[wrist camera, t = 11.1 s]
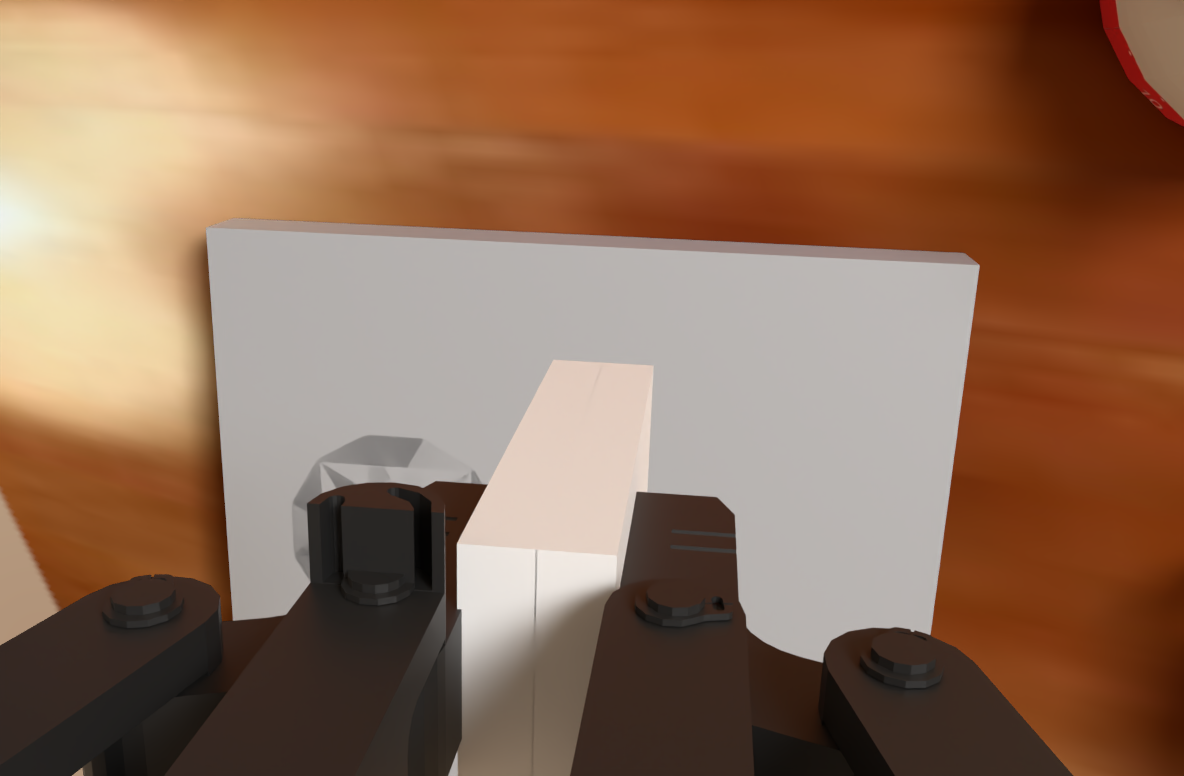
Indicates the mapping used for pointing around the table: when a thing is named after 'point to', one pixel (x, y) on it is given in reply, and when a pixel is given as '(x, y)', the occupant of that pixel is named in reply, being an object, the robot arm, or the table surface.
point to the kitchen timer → (1150, 49)
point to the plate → (608, 335)
